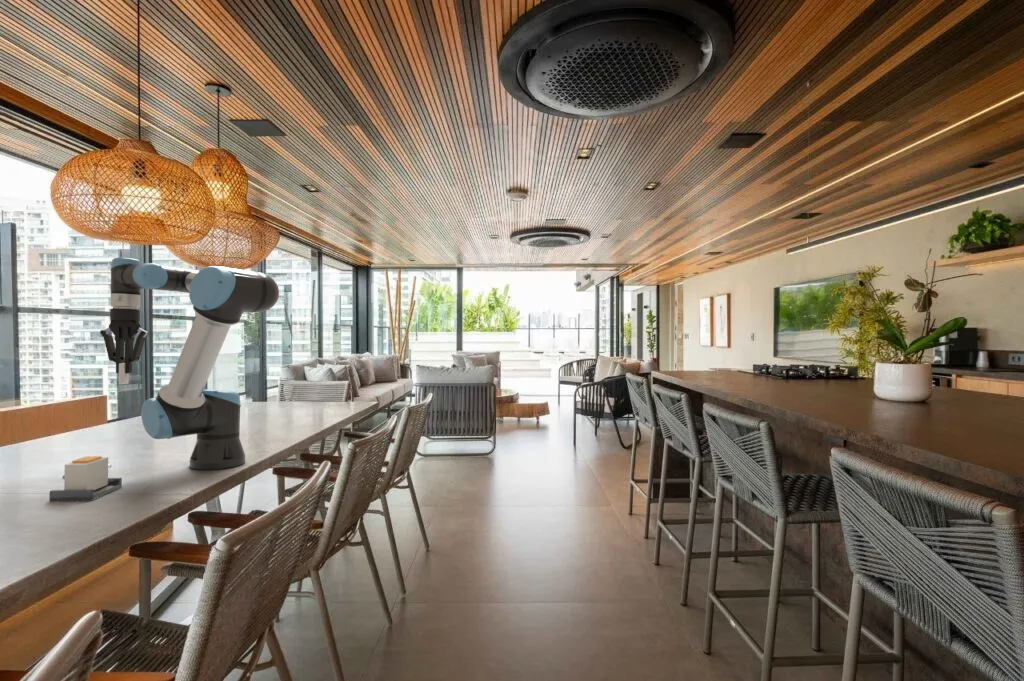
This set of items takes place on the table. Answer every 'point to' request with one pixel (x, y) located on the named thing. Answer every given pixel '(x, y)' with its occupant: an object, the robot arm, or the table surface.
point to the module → (86, 473)
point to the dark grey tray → (85, 492)
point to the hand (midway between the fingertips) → (123, 383)
